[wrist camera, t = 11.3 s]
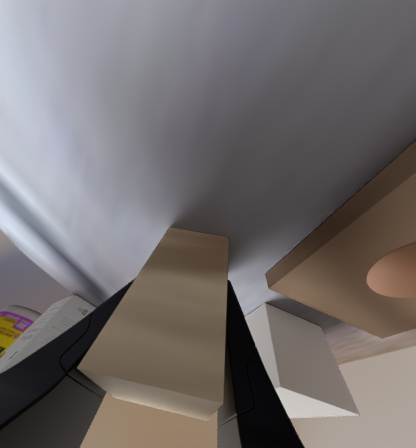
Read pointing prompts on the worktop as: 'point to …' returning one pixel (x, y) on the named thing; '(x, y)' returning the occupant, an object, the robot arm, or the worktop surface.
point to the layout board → (361, 256)
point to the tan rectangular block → (169, 329)
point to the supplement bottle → (14, 324)
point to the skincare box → (46, 329)
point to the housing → (300, 364)
